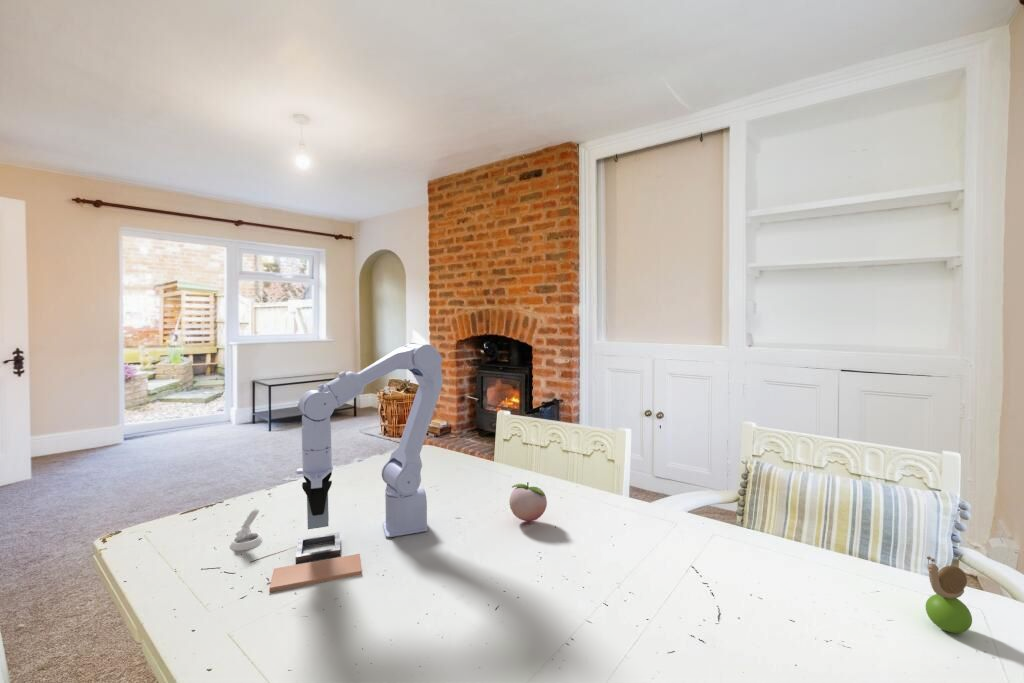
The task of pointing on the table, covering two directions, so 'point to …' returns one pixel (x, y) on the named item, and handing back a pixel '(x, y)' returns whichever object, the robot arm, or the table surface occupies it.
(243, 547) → the white handled ring
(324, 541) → the iron collar
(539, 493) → the decorative fruit
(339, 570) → the terracotta tile
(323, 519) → the metal peg
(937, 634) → the table surface
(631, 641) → the table surface
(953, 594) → the snail figurine
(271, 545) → the table surface
